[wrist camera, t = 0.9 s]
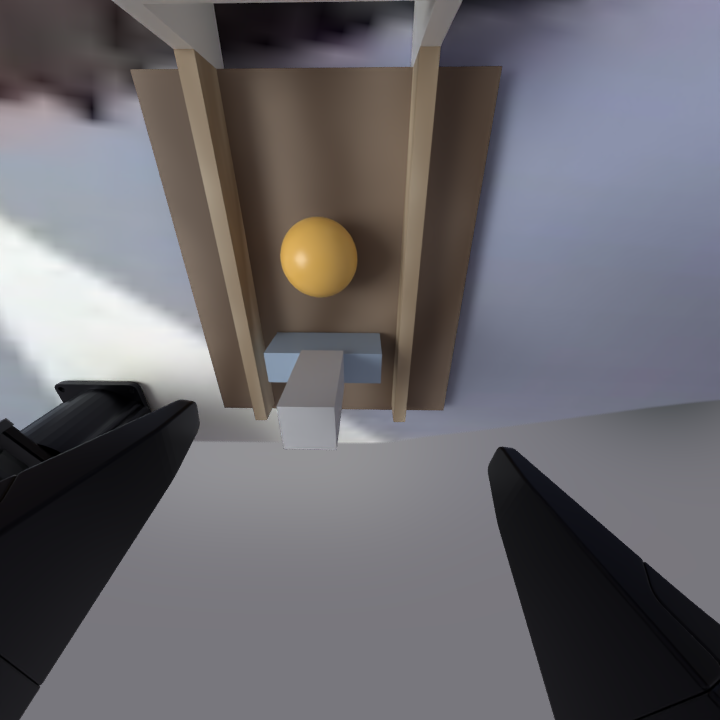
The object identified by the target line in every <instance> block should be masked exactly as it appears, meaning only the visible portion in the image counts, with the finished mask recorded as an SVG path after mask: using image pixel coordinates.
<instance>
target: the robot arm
mask: <svg viewBox="0 0 720 720" xmlns="http://www.w3.org/2000/svg"><path fill="white" fill-rule="evenodd" d="M133 389H134V390H133ZM55 390H56V391H57V393H58V395H59V396H60V398H61V400H62V401H63V403H62V404H60V405H59V406H57V407H56V408H54V409H53V410H51V411H50V412H48V413H46V414H45V415H43V416H42V417H40V418H39V419H37V420H36V421H34V422H33V423H31V424H30V425H28V426H27V427H25V428H24V429H22V430H21V431H19V430H18V429H16V428H15V427H14V426H12V425H14V424H13V423H12V422H10V421H9V420H8V419H6V418H5V419H3V420H1V421H0V720H19V719H20V718H21V716H22V715H23V714H24V712H25V710H26V709H27V707H28V706H29V704H30V702H31V701H32V699H33V698H34V696H35V695H36V693H37V692H38V690H39V688H40V686H39V685H41V684H42V683H43V682H44V680H45V679H46V677H47V676H48V674H49V672H50V671H51V669H52V668H53V666H54V665H55V663H56V662H57V660H58V658H59V657H60V655H61V654H62V652H63V651H64V649H65V648H66V646H67V644H68V643H69V641H70V640H71V638H72V637H73V635H74V633H75V632H76V630H77V629H78V627H79V625H80V624H81V622H82V621H83V619H84V618H85V616H86V615H87V613H88V612H89V610H90V608H91V607H92V605H93V604H94V602H95V601H96V599H97V598H98V596H99V595H100V593H101V591H102V590H103V588H104V587H105V585H106V584H107V582H108V581H109V579H110V577H111V576H112V574H113V573H114V571H115V570H116V568H117V566H118V565H119V563H120V562H121V560H122V559H123V557H124V556H125V554H126V552H127V551H128V549H129V548H130V546H131V544H132V543H133V541H134V540H135V538H136V537H137V535H138V534H139V532H140V530H141V529H142V527H143V526H144V524H145V523H146V521H147V520H148V518H149V517H150V515H151V513H152V512H153V510H154V509H155V507H156V506H157V504H158V503H159V501H160V499H161V498H162V496H163V495H164V493H165V491H166V490H167V489H168V487H169V485H170V484H171V482H172V480H173V479H174V477H175V475H176V473H177V471H178V470H179V468H180V466H181V464H182V462H183V460H184V458H185V456H186V454H187V452H188V450H189V448H190V446H191V444H192V442H193V440H194V438H195V436H196V434H197V432H198V429H199V425H200V422H199V416H198V410H197V405H196V403H195V402H194V401H189V400H178V401H175V402H173V403H171V404H169V405H166V406H164V407H162V408H160V409H158V410H156V411H153V412H151V410H150V408H149V405H148V403H147V401H146V398H145V396H144V394H143V391H142V389H141V387H140V386H139V385H138V384H137V383H134V382H73V381H63V382H60V383H58V384H56V385H55ZM488 475H489V481H490V486H491V492H492V497H493V502H494V508H495V513H496V518H497V523H498V527H499V530H500V534H501V537H502V540H503V544H504V548H505V551H506V554H507V558H508V561H509V565H510V568H511V571H512V575H513V578H514V582H515V585H516V588H517V592H518V595H519V599H520V602H521V606H522V609H523V612H524V616H525V619H526V623H527V626H528V629H529V633H530V636H531V639H532V643H533V647H534V650H535V653H536V656H537V660H538V663H539V667H540V670H541V674H542V677H543V681H544V684H545V687H546V691H547V694H548V697H549V701H550V704H551V708H552V711H553V715H554V718H555V720H720V624H719V623H717V622H716V621H715V620H714V619H713V618H711V617H710V616H709V615H707V614H706V613H705V612H704V611H703V610H701V609H700V608H699V607H698V606H697V605H695V604H694V603H693V602H692V601H690V600H689V599H688V598H687V597H686V596H685V595H683V594H682V593H681V592H680V591H679V590H677V589H676V588H675V587H674V586H673V585H672V584H670V583H669V582H668V581H667V580H666V579H664V578H663V577H662V576H661V575H660V574H659V573H657V572H656V571H655V570H654V569H653V568H652V567H651V566H649V565H648V564H647V563H646V562H643V560H642V559H641V558H640V557H639V556H638V555H637V554H635V553H634V552H633V551H632V550H631V549H630V548H628V547H627V546H626V545H625V544H624V543H623V542H622V541H620V540H619V539H618V538H617V537H616V536H615V535H613V534H612V533H611V532H610V531H609V530H608V529H607V528H605V527H604V526H603V525H602V524H601V523H600V522H598V521H597V520H596V519H595V518H594V517H593V516H591V515H590V514H589V513H588V512H587V511H585V510H584V509H583V508H582V507H581V506H580V505H579V504H578V503H577V502H575V501H574V500H573V499H572V498H571V497H570V496H568V495H567V494H566V493H565V492H564V491H562V490H561V489H560V488H559V487H558V486H557V485H556V484H555V483H553V482H552V481H551V480H550V479H549V478H548V477H546V476H545V475H544V474H543V473H541V471H539V470H538V469H537V468H536V467H535V466H533V464H531V463H530V462H529V461H528V460H527V459H526V458H524V457H523V456H522V455H521V454H520V453H519V452H518V451H516V450H515V449H513V448H508V447H499V448H498V449H497V450H496V452H495V454H494V456H493V458H492V460H491V461H490V463H489V466H488Z"/></svg>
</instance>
